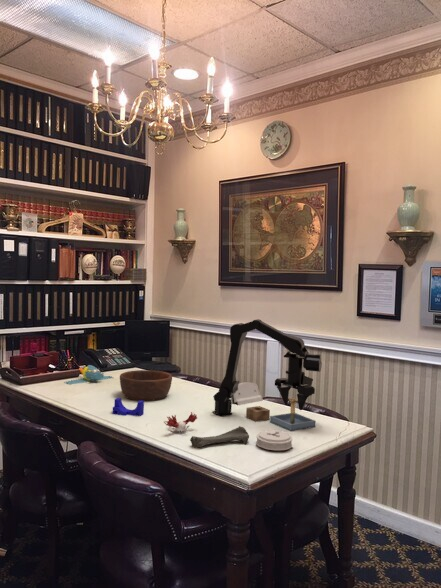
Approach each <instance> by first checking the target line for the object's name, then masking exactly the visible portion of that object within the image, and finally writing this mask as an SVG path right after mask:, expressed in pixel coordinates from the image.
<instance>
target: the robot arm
mask: <svg viewBox="0 0 441 588" xmlns="http://www.w3.org/2000/svg"><path fill="white" fill-rule="evenodd" d="M255 330H256V331H258V332H260V333H262V334H264V335H265V336H268V338H271V339H273V340H274V341H277V342H279V343H280V344H281V345H282V346H283V347H284V348H285V349H286V350H288V351H287V352H286V353H285V354H283V358H288V361H287V362H288V363H287V370H285V374H286V375H287V377H282V378H281V377H278V378H276V379H275V380H274V386H275V387H276V388H277V391H278V392H279V394H280V396H281V398H282V401H283V403H284V405H288V402H289V395H290V393H289V391H290V390H291V388H292V389H295V390H297V391H296V392H297V393H296V397H297V398H296V399H297V404H298V409H299V410H300V411H302V410H303V408H304V406H305V404H306V401H307V399H308V398H309V397H310V396H313V395H315V393H316V388H315V387H314V386H313V385H312V384H313V381H314V378H312V377H309V376H307V375H305V371H309V372H319V373H320V372H321V371H322V365H323V362H322V355H321V354H318V353H317V354H313V353H312V354H311V353H309V351H308V349H307V347H306V345H305V341H304V340H303V338H301V337H298V336H294V335H291V334H287V333H285V332H283V331H281V330H279V329H277V328H275V327H274V326H272V325H269V324H267V323H266V322H264V321H262V320H261V319H259V318H258V319H253V320H252V321H248V322H245V323H243V322H239V323H234V324H233V325H231V327H230V329H229V339H230V340H229V341H230V348H229V353H228V358H227V359H228V360H227V365H226V371H225V375H224V376H223V379H222V381H221V383H220V386H219V388H218V391H217V392H216V393H215V394H214V395H213V400H214V410H213V411H212V413H213V414H215V415H217V416H219V417H223V416H230V415H233V414H234V413H233V412H232V407H233V406H232V404H233V403H231V398H232V395H233V394H235V393H236V391H237V390H238V385H239V383H240V381H239V380H237V372H238V371H237V370H238V366H239V360H240V354H241V350H242V345H243V343H244V341H245V339H246V338H247V336H248V335H247V334H248V333H249V332H252V331H255ZM303 369H305V371H303Z"/></svg>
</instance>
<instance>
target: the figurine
mask: <svg viewBox="0 0 441 588" xmlns="http://www.w3.org/2000/svg"><path fill="white" fill-rule="evenodd" d="M166 418H167V420H168V421H167V420H164V421H163V424H165V425H166V426H168V430H169V431H170V432H173V433H174V432H175V431H178V432H179V433H181V432H182V433H184V431H185V432H188V429H189V427H190V424H189V423H194V422H195V421H196V420H197V419H198V416H197V414H195V413H193V411H190V415H189V416H188V418H187V419H185V420H182V421H178V420H177V415H176V414H174V415H171V416H166Z"/></svg>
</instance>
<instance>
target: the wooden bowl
mask: <svg viewBox="0 0 441 588" xmlns="http://www.w3.org/2000/svg"><path fill="white" fill-rule="evenodd" d="M172 381H173V375H172V374H171V373H170V372H166V371H161V370H153V369H152V370H149V369H139V370H129V371H125V372H122V373H121V374H119V382H120V389H121V392H122V394H123V395H124V397H125V398H126V399H129V400H132V401H138V402H139V401H140V400H142V401H144V402H147V401H148V402H151V401H160V400H163V399H165V398H166V397H167V396H168V394H169V392H170V390H171V386H172V383H173V382H172Z"/></svg>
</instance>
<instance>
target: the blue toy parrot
mask: <svg viewBox="0 0 441 588" xmlns="http://www.w3.org/2000/svg"><path fill="white" fill-rule="evenodd" d="M78 369H79V372H80V373H81V375H82V378H78V379H73V380H68V381H64V382H63V383H64V384H67V385H75V384H83V383H92V382H96V381H97V382H98V381H103V380H108V379H114V377H113V376H111V375H107V376H106V375H105V374H104V372H102V373H101V370H100V369H99V368H97V367H95V366H94V365H91V364H88V365H87V366H85V367H84V368H82V367H79V368H78Z"/></svg>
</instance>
